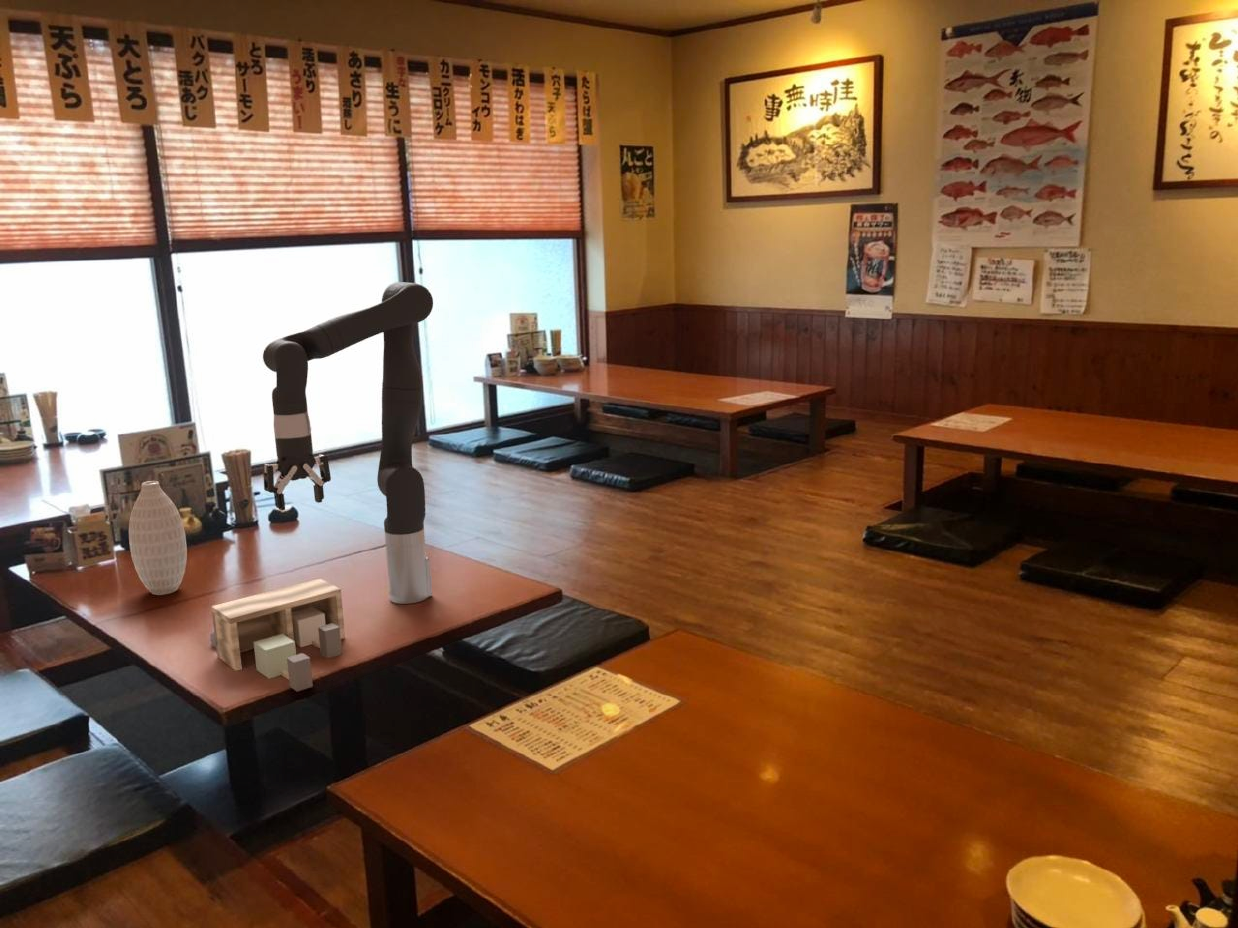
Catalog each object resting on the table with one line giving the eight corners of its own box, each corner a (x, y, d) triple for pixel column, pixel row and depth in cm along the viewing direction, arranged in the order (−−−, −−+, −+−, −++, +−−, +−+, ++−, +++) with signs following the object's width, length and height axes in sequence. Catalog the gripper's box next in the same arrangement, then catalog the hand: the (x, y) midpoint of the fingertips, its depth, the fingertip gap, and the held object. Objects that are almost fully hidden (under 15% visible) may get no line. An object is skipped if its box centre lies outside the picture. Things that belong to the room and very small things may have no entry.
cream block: (288, 639, 215) (286, 613, 214) (314, 632, 219) (312, 606, 217) (321, 660, 203) (318, 633, 202) (348, 651, 207) (345, 625, 206)
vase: (193, 580, 256) (180, 474, 250) (189, 595, 245) (175, 485, 238) (140, 586, 253) (125, 479, 246) (133, 602, 241) (117, 490, 235)
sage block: (256, 669, 200) (253, 641, 198) (285, 661, 204) (282, 633, 202) (290, 693, 188) (286, 664, 187) (319, 684, 192) (316, 655, 191)
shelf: (217, 656, 207) (211, 606, 204) (324, 625, 222) (319, 578, 220) (235, 670, 199) (229, 618, 197) (345, 637, 215) (340, 588, 213)
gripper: (316, 426, 220) (323, 496, 224) (253, 436, 211) (261, 509, 215) (331, 430, 215) (338, 502, 218) (268, 440, 206) (276, 515, 209)
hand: (300, 505), depth 216 cm, fingers open, 8 cm apart
